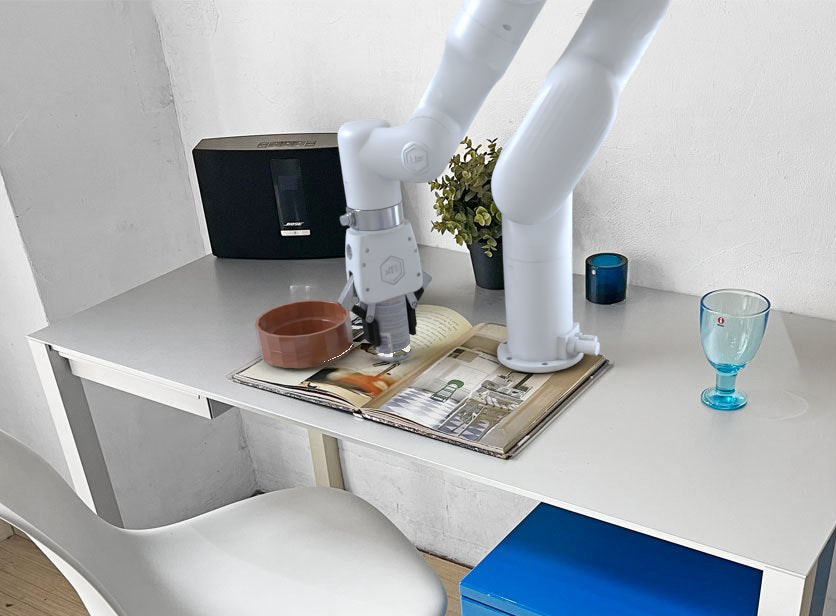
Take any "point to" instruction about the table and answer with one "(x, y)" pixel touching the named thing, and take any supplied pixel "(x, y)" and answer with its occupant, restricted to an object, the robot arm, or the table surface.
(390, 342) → the energy drink
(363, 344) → the table surface
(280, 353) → the bowl
